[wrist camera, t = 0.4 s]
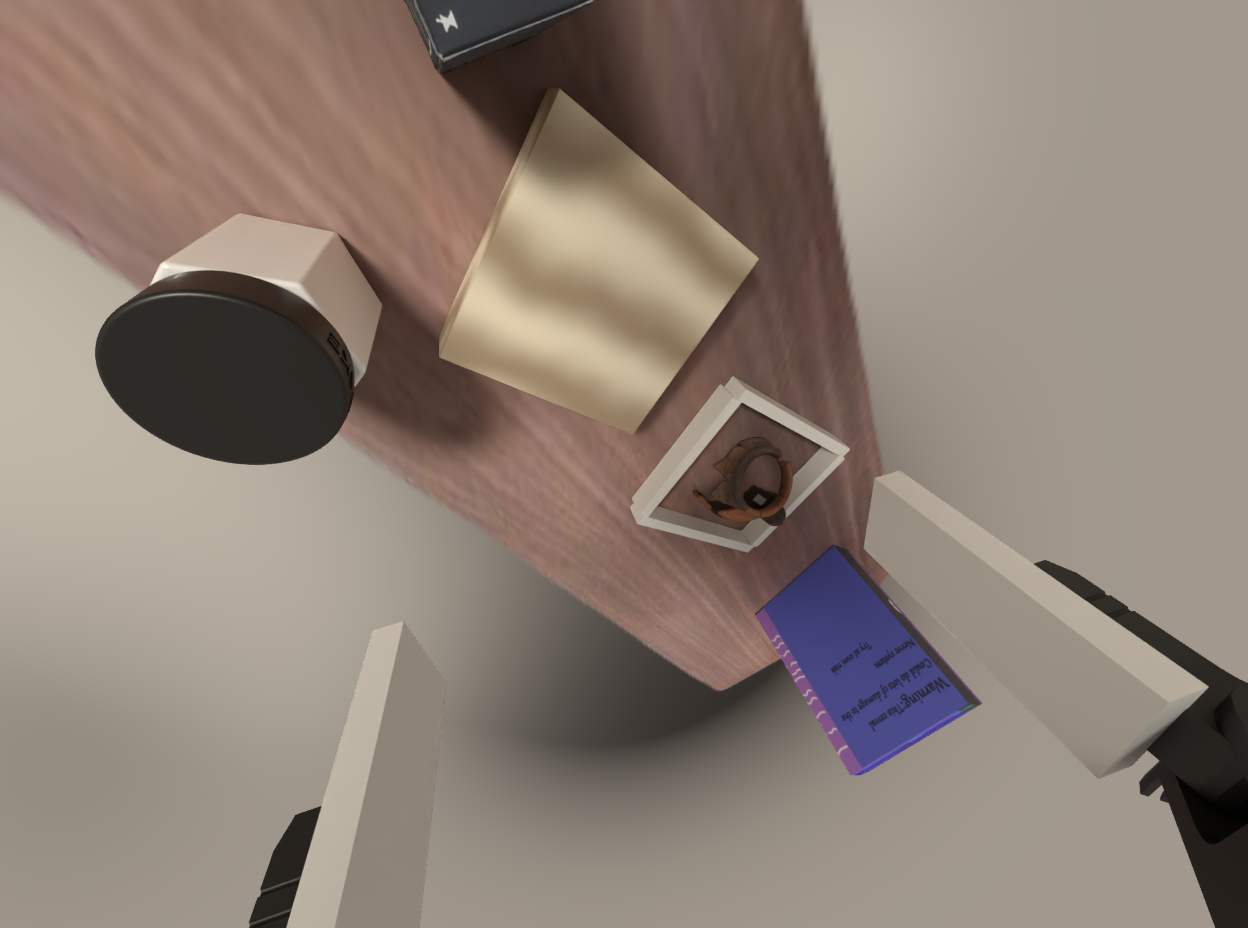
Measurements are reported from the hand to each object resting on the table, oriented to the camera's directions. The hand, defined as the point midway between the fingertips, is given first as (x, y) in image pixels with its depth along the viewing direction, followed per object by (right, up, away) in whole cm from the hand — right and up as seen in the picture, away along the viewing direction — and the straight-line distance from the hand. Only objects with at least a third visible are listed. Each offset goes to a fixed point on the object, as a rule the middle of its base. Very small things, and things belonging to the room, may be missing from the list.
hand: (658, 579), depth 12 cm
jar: (-21, +14, +15) cm, 29 cm away
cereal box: (+27, -16, +60) cm, 68 cm away
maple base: (-3, +16, +20) cm, 26 cm away
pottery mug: (+11, +3, +38) cm, 40 cm away
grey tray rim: (+12, +2, +38) cm, 39 cm away
